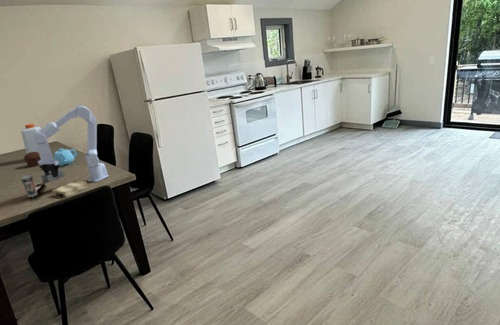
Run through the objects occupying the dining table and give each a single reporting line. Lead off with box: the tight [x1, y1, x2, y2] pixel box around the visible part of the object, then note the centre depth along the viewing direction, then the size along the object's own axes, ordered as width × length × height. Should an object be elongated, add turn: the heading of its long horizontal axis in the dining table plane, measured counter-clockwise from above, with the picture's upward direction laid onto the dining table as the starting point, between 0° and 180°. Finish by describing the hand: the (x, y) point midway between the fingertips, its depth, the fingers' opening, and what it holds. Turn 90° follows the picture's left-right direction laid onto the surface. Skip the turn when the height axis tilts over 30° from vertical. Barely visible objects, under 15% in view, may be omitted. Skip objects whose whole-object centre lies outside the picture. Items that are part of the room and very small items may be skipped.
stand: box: [51, 180, 89, 198], centre depth 176 cm, size 14×10×3 cm
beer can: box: [20, 174, 38, 198], centre depth 173 cm, size 5×5×12 cm
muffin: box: [23, 152, 41, 168], centre depth 239 cm, size 12×11×10 cm
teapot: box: [53, 148, 78, 168], centre depth 231 cm, size 20×17×12 cm
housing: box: [40, 169, 66, 184], centre depth 178 cm, size 12×5×5 cm, turn 157°
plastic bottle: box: [20, 123, 42, 155], centre depth 256 cm, size 15×15×28 cm
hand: (52, 176), depth 179 cm, fingers closed on housing, 5 cm apart
